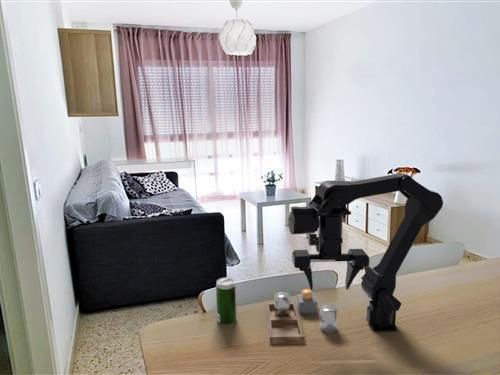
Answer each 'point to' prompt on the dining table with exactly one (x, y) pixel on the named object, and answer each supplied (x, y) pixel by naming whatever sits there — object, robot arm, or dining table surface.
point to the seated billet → (282, 304)
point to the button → (307, 294)
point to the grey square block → (306, 304)
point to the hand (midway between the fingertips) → (329, 289)
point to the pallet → (284, 326)
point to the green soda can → (226, 301)
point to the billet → (328, 318)
